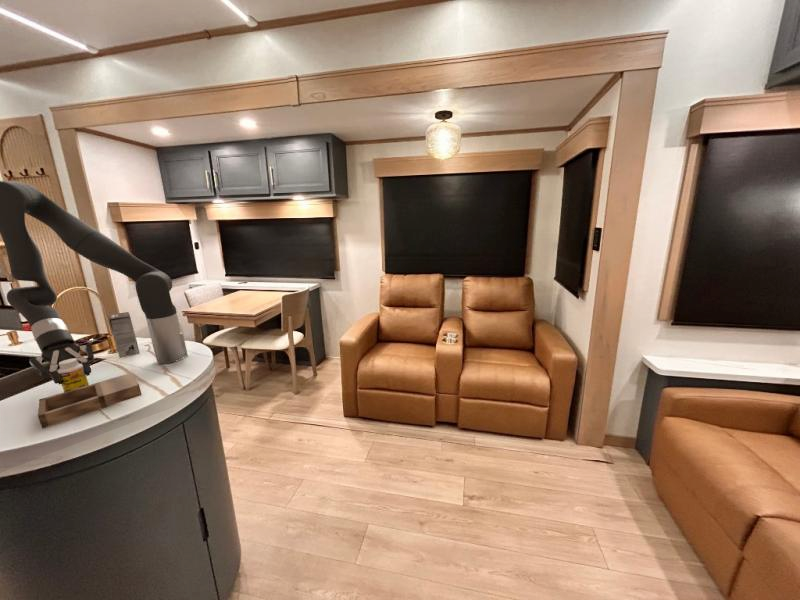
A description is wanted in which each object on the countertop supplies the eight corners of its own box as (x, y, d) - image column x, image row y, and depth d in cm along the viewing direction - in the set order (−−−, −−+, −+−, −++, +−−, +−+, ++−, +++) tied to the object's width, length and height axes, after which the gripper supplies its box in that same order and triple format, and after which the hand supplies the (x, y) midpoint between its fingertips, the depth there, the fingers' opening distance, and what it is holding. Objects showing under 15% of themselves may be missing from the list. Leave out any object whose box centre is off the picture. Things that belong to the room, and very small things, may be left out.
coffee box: (118, 352, 129) (107, 314, 125) (138, 347, 133) (128, 311, 129) (119, 358, 123) (108, 319, 119) (140, 353, 127) (130, 315, 123)
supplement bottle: (62, 397, 95) (51, 366, 92) (68, 390, 100) (57, 360, 97) (87, 391, 98) (77, 361, 95) (91, 384, 102) (82, 355, 100)
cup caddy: (134, 382, 103) (132, 372, 102) (141, 395, 94) (139, 384, 94) (43, 410, 88) (39, 399, 88) (42, 428, 80) (37, 416, 79)
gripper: (17, 336, 92) (39, 383, 89) (83, 322, 104) (106, 363, 100) (19, 350, 96) (41, 395, 93) (83, 335, 108) (104, 374, 104)
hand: (74, 378), depth 97 cm, fingers closed on supplement bottle, 5 cm apart
